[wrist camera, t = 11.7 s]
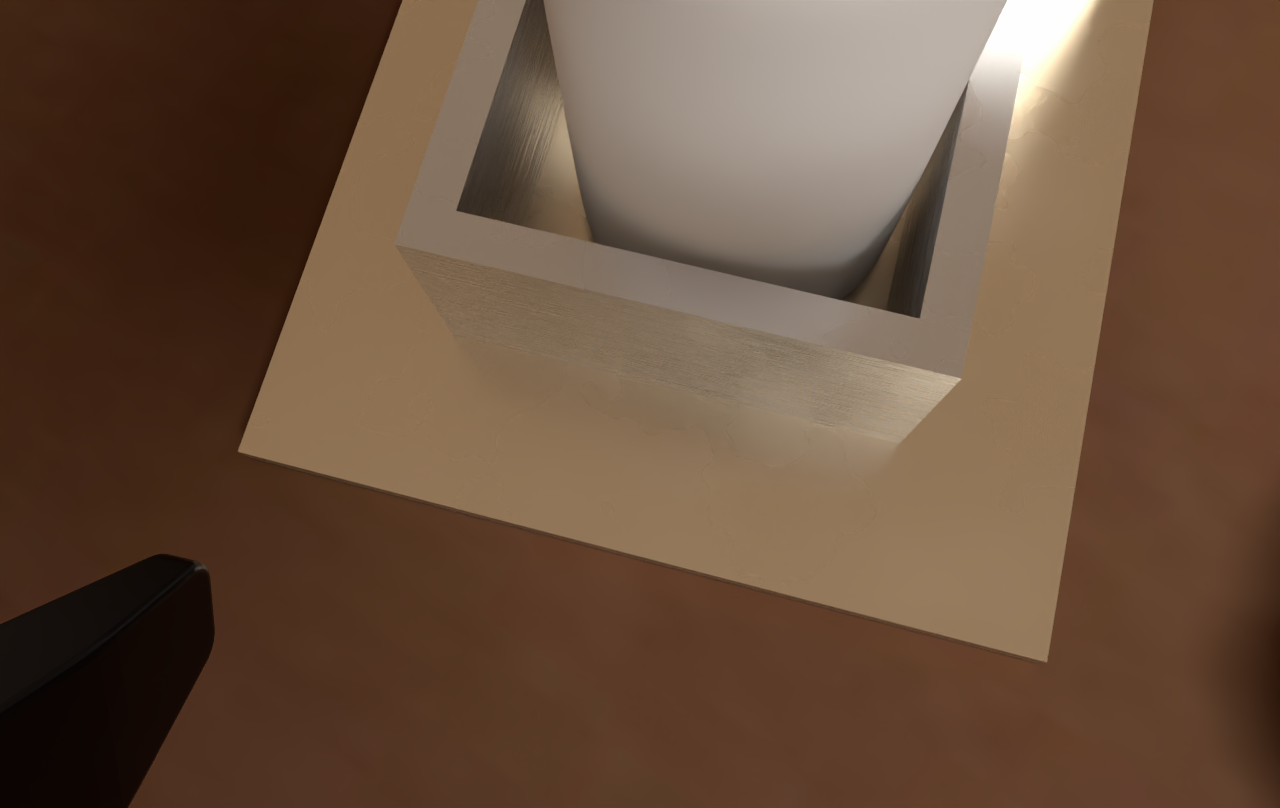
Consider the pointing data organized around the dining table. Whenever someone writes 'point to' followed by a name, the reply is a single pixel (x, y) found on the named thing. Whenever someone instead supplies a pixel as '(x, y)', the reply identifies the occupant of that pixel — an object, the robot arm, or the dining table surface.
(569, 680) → the dining table surface
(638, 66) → the can
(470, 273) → the cup bracket
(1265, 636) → the dining table surface
